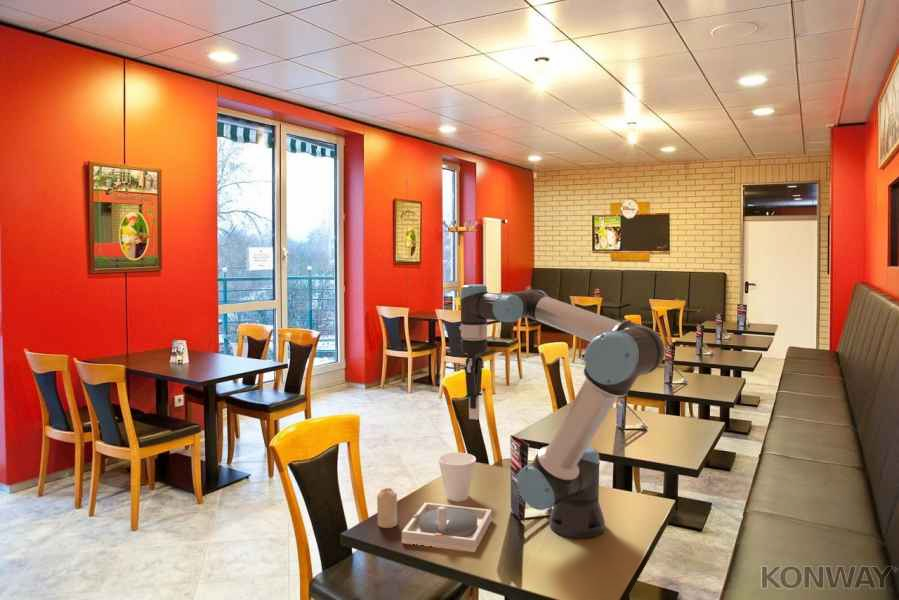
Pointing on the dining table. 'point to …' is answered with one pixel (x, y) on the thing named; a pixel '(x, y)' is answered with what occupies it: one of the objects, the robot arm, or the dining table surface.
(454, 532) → the dial
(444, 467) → the cup
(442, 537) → the dial plate
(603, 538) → the dining table surface
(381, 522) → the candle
